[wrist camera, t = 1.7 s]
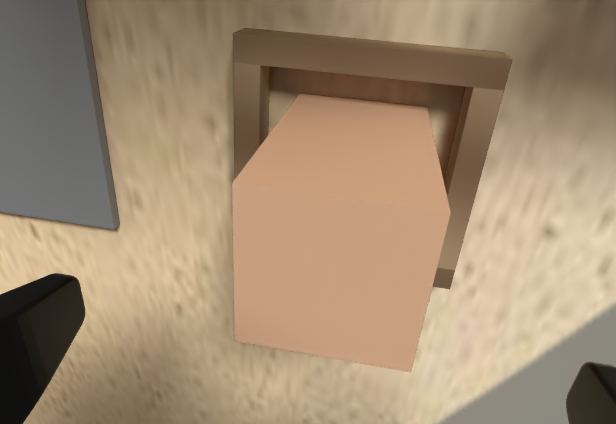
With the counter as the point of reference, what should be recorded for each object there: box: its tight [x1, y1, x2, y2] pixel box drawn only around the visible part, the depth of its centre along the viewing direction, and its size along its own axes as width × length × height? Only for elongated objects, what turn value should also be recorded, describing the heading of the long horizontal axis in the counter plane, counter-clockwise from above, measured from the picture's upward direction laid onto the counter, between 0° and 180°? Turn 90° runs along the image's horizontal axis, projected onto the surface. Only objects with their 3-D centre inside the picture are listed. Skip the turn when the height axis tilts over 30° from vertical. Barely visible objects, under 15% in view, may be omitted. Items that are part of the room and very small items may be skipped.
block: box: [232, 93, 451, 372], centre depth 12 cm, size 4×4×7 cm
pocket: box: [233, 28, 512, 289], centre depth 15 cm, size 8×8×1 cm
